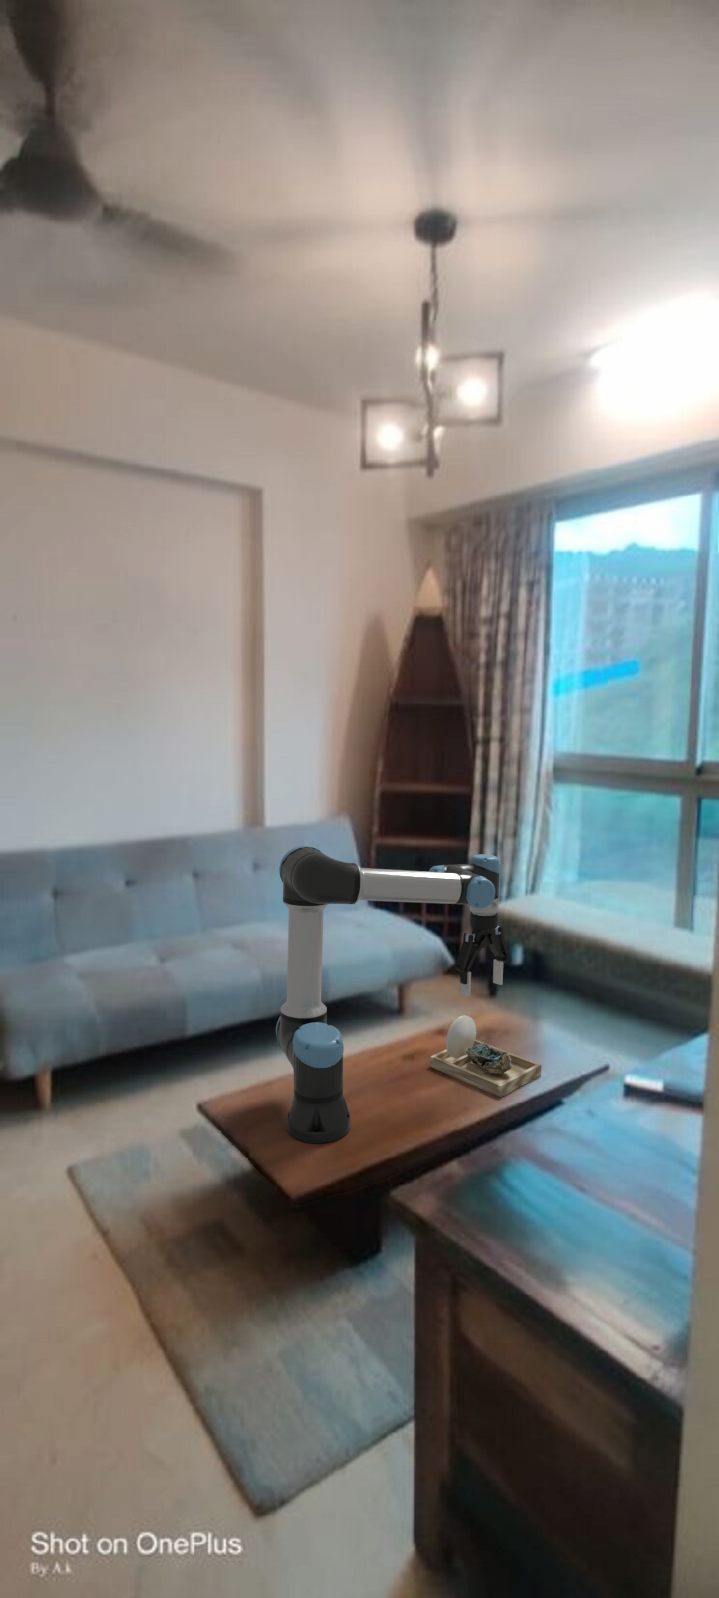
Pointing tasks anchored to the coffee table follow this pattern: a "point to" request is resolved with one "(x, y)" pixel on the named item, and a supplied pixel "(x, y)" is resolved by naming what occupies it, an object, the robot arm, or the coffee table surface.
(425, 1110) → the coffee table surface
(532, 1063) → the wooden tray
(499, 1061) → the mineral specimen
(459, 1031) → the standing plate
